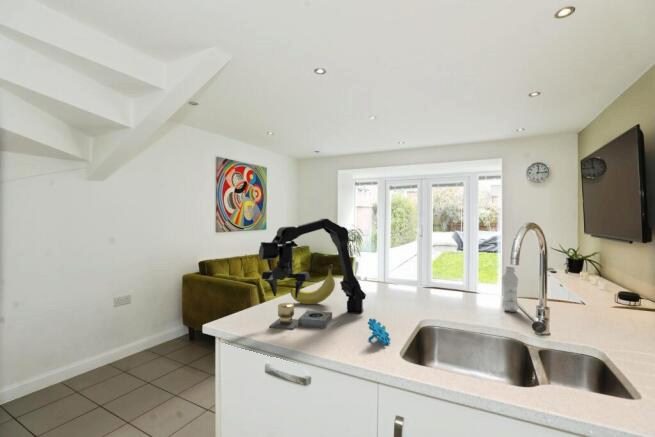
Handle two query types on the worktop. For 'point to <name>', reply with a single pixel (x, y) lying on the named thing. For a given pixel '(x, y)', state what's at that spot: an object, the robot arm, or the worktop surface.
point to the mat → (278, 325)
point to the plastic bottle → (510, 290)
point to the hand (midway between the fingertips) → (285, 296)
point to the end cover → (286, 313)
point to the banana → (316, 291)
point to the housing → (315, 319)
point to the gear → (378, 331)
